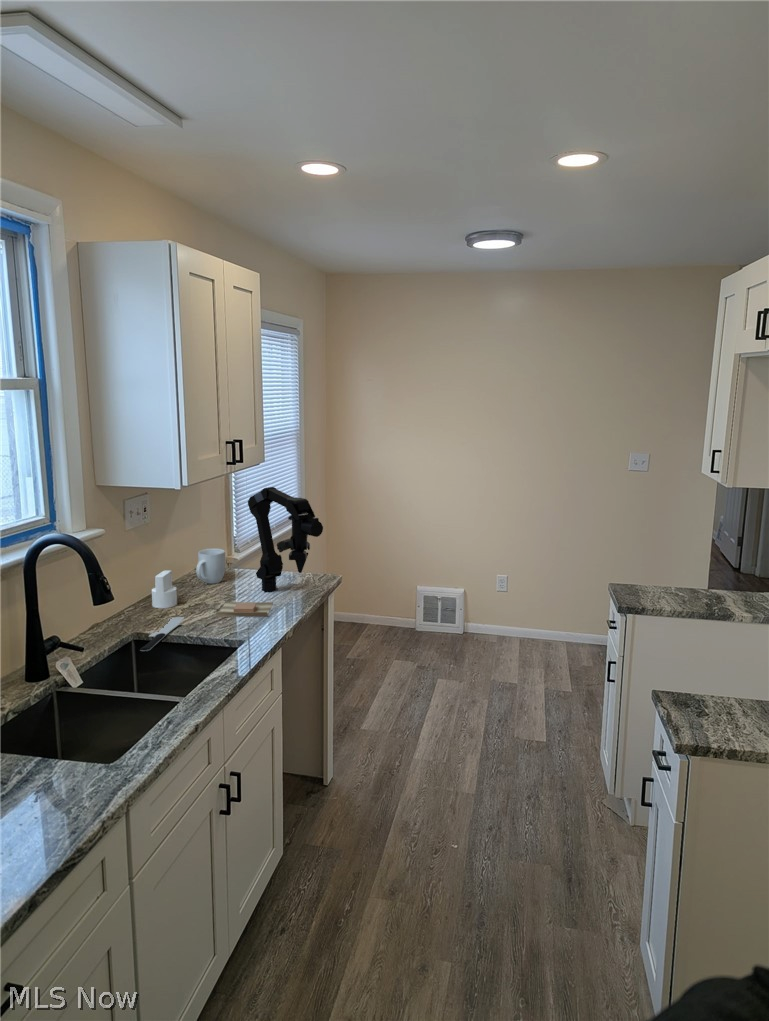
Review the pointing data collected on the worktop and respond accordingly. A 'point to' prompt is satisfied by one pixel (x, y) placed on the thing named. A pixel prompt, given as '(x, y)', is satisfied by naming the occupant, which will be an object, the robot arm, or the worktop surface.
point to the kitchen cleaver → (161, 633)
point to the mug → (211, 565)
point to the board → (260, 611)
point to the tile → (245, 607)
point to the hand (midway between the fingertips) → (300, 572)
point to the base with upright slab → (164, 591)
